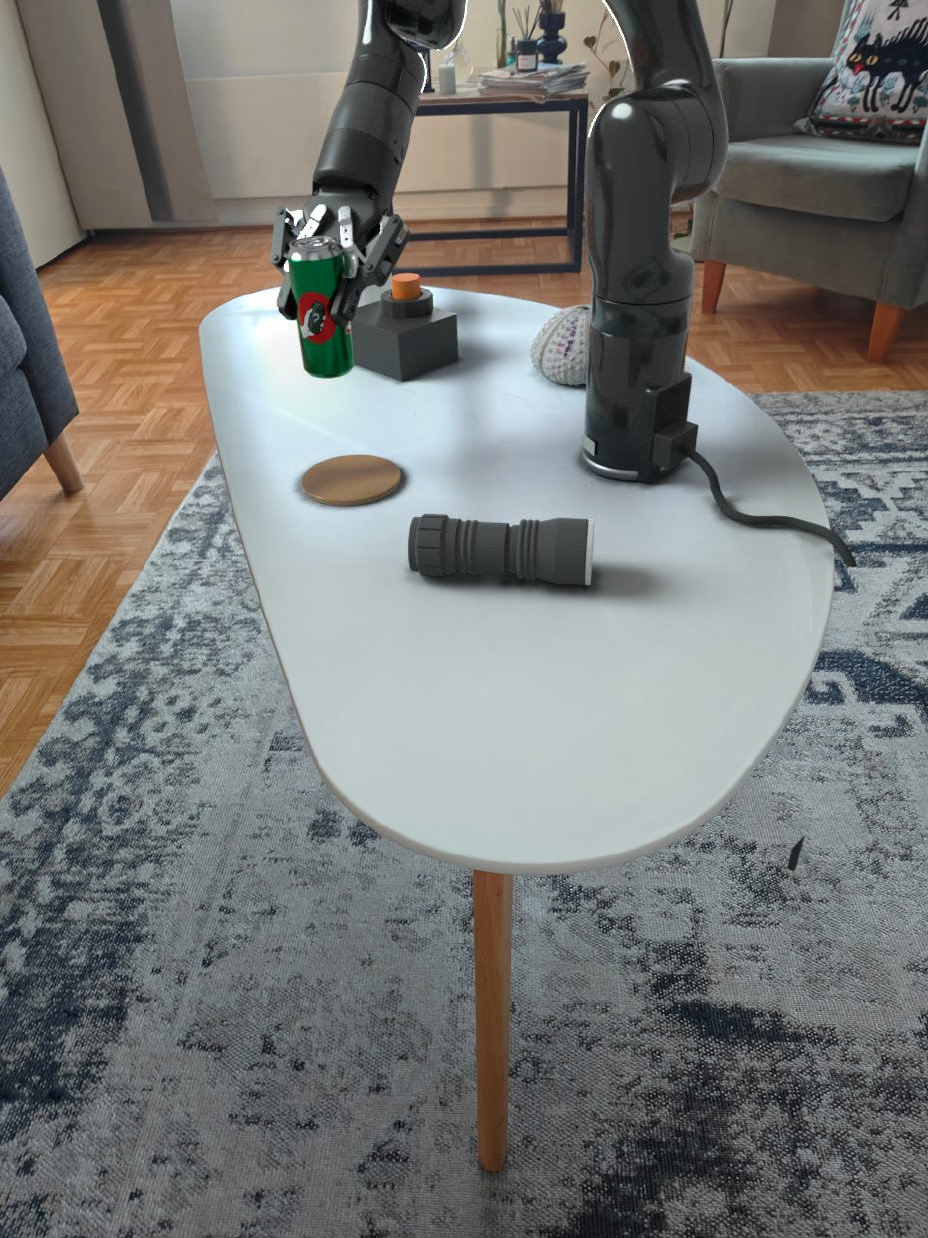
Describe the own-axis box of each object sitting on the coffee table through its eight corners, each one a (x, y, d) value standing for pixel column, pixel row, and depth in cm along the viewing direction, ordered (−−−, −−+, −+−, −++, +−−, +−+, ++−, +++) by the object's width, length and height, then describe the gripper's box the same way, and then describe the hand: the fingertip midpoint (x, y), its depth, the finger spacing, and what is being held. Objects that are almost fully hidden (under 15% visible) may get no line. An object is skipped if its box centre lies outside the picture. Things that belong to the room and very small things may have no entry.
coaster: (421, 479, 91) (421, 474, 90) (344, 516, 85) (343, 511, 85) (358, 450, 97) (357, 445, 96) (282, 483, 91) (281, 478, 91)
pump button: (426, 296, 115) (425, 276, 113) (405, 303, 113) (404, 282, 111) (407, 291, 117) (406, 271, 115) (386, 298, 115) (385, 277, 113)
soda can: (364, 372, 87) (350, 242, 80) (316, 384, 85) (297, 252, 78) (343, 357, 91) (328, 231, 83) (296, 368, 89) (276, 240, 82)
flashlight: (405, 587, 75) (400, 531, 72) (417, 553, 80) (413, 499, 76) (589, 597, 73) (592, 541, 70) (592, 562, 77) (595, 506, 74)
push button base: (459, 359, 118) (457, 296, 113) (401, 382, 112) (396, 317, 107) (399, 339, 125) (394, 279, 120) (341, 359, 119) (334, 298, 114)
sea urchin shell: (657, 381, 109) (663, 314, 105) (557, 400, 106) (559, 332, 101) (604, 346, 120) (608, 285, 115) (511, 363, 116) (511, 300, 111)
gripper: (280, 122, 84) (226, 291, 82) (416, 126, 79) (361, 306, 77) (318, 174, 91) (269, 330, 89) (446, 180, 86) (396, 347, 84)
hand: (312, 318), depth 83 cm, fingers closed on soda can, 5 cm apart
